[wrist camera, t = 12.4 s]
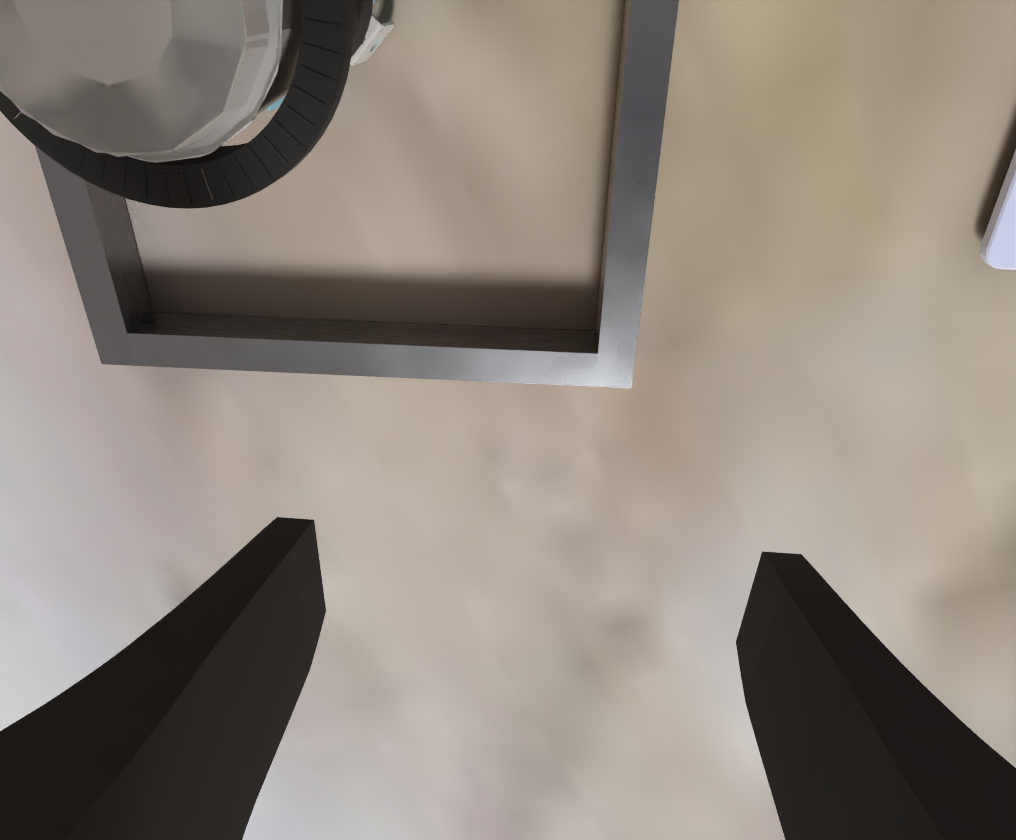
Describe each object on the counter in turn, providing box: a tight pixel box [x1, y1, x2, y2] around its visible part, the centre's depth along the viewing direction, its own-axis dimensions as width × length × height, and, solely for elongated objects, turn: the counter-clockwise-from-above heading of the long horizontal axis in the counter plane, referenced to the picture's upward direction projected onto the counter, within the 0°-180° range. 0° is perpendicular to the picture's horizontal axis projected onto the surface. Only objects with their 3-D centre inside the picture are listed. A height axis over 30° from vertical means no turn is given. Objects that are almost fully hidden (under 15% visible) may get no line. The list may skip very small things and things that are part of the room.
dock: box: [35, 0, 679, 388], centre depth 16 cm, size 15×17×2 cm
